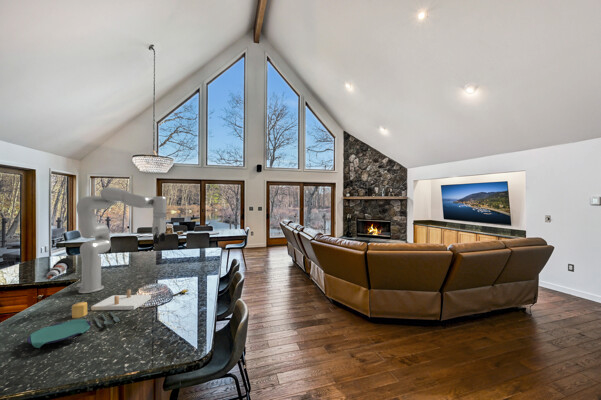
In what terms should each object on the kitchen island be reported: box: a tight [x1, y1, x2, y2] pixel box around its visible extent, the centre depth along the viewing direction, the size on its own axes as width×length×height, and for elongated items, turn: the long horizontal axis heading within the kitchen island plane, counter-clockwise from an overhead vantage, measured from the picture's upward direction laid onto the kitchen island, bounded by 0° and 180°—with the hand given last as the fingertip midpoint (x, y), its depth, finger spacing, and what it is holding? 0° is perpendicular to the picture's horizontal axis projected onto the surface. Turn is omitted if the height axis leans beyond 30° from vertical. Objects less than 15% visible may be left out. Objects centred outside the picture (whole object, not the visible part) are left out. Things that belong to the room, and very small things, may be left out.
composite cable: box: [171, 288, 190, 298], centre depth 156 cm, size 10×5×2 cm, turn 135°
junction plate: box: [90, 289, 152, 311], centre depth 141 cm, size 22×16×6 cm
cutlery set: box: [26, 311, 121, 349], centre depth 112 cm, size 20×30×2 cm, turn 139°
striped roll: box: [45, 257, 74, 280], centre depth 197 cm, size 10×34×10 cm
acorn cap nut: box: [71, 301, 88, 319], centre depth 126 cm, size 6×6×6 cm
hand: (159, 242), depth 161 cm, fingers open, 9 cm apart
